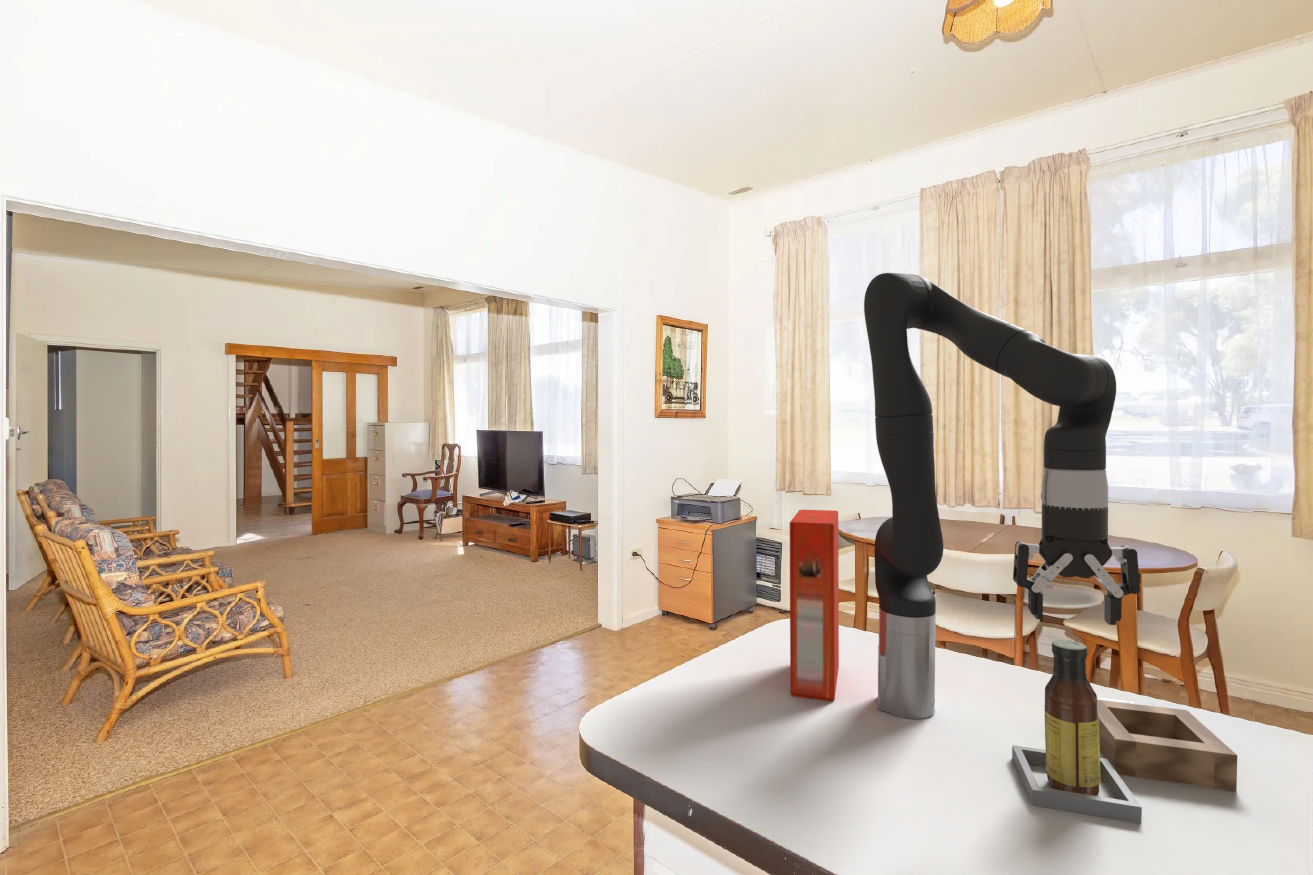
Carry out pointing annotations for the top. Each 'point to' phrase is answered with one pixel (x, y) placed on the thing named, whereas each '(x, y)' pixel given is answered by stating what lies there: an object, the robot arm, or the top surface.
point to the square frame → (1077, 802)
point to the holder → (1164, 746)
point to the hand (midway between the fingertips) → (1073, 620)
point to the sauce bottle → (1071, 722)
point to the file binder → (814, 604)
